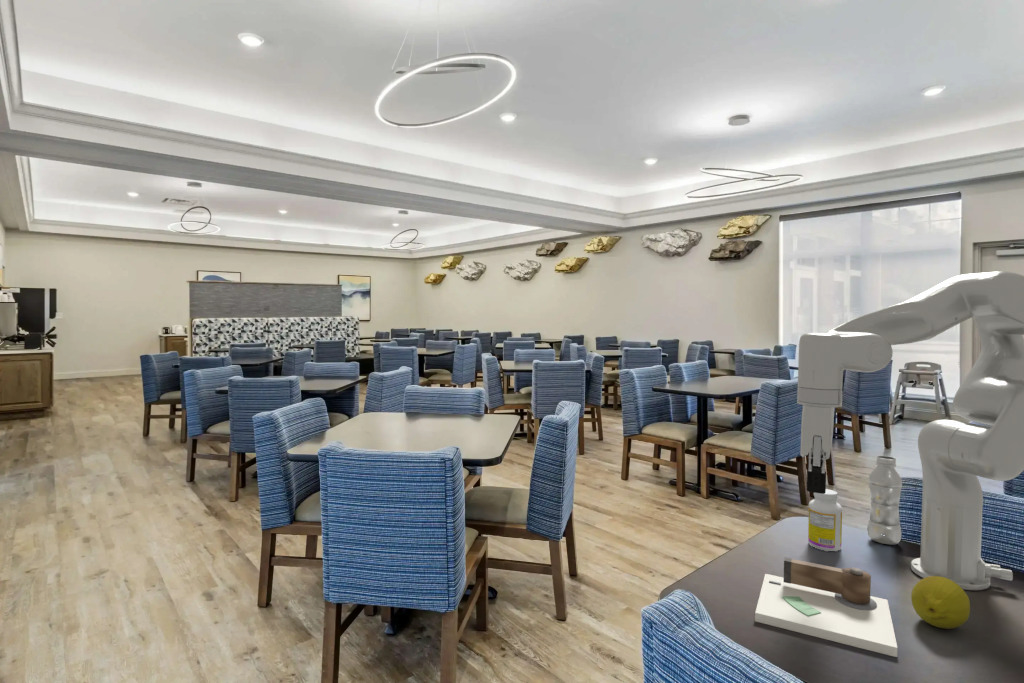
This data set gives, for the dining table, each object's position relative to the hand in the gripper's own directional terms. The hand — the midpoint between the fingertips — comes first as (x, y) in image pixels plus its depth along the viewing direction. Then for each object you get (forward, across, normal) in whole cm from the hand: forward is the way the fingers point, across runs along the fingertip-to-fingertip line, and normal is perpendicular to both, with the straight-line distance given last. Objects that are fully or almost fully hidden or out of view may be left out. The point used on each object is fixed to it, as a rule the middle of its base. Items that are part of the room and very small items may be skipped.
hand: (816, 491), depth 107 cm
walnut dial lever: (+16, +6, +2) cm, 18 cm away
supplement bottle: (+19, -23, +2) cm, 29 cm away
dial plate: (+18, +11, +2) cm, 22 cm away
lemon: (+19, +5, +19) cm, 27 cm away
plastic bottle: (+18, -33, +14) cm, 40 cm away
